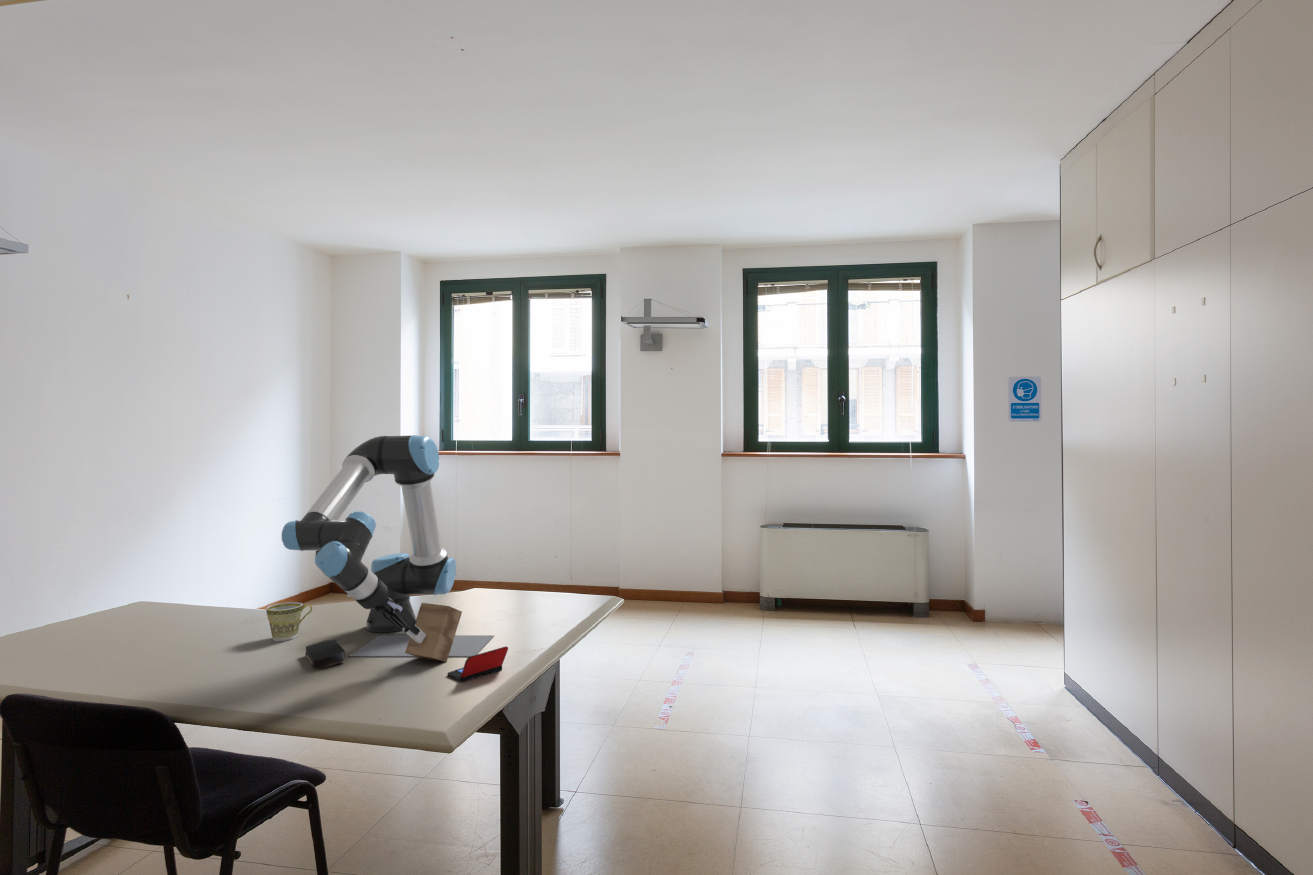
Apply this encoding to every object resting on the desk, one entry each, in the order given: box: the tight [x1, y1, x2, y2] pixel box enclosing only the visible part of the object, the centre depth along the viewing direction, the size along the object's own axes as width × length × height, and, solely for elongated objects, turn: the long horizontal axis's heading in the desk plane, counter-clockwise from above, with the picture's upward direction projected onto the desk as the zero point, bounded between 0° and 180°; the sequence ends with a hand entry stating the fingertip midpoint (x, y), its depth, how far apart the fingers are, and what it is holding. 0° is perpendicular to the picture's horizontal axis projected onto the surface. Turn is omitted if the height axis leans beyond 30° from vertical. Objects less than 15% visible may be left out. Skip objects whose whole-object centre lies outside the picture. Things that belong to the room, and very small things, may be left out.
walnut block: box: [405, 602, 463, 663], centre depth 201 cm, size 6×10×14 cm, turn 64°
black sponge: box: [304, 639, 347, 670], centre depth 202 cm, size 16×8×4 cm, turn 34°
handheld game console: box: [447, 646, 509, 683], centre depth 188 cm, size 12×11×7 cm
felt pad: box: [348, 634, 495, 658], centre depth 213 cm, size 20×36×1 cm, turn 87°
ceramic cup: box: [265, 601, 313, 642], centre depth 224 cm, size 13×10×10 cm
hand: (421, 638), depth 197 cm, fingers closed
